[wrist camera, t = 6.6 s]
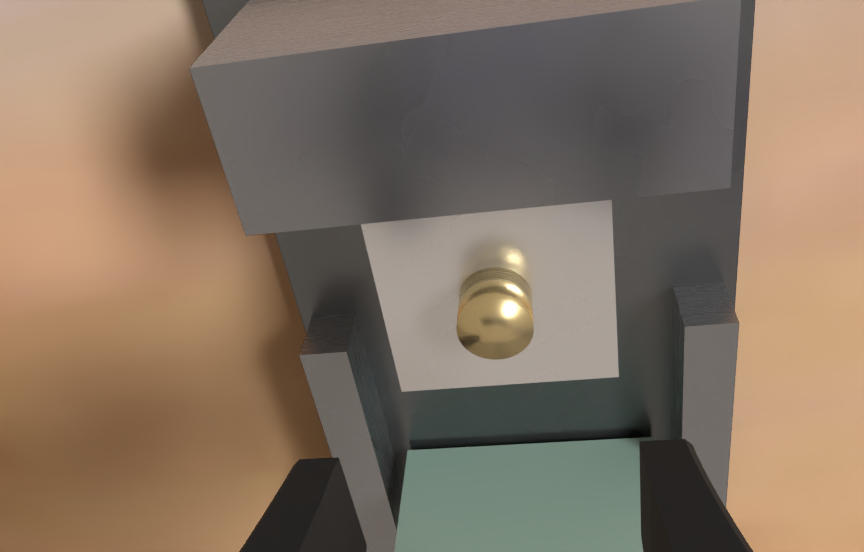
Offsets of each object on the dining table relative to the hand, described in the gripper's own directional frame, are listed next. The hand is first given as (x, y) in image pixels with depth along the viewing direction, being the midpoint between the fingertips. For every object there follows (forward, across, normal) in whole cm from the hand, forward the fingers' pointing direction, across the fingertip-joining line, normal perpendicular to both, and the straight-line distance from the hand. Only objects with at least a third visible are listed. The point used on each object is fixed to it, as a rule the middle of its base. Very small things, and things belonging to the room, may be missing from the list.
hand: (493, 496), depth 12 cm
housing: (+9, 0, 0) cm, 9 cm away
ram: (+8, 0, +9) cm, 13 cm away
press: (+9, 0, +3) cm, 10 cm away
